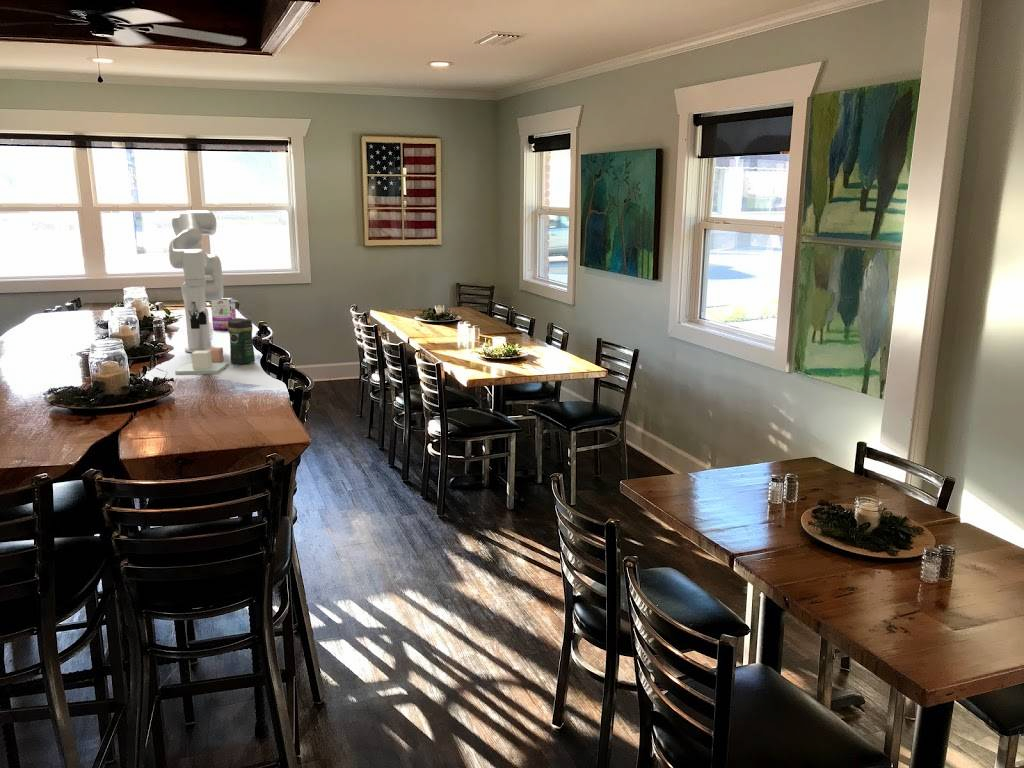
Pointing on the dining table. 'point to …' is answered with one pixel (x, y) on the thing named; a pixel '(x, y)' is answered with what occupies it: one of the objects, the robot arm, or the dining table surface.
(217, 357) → the terracotta block
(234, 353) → the coffee jar
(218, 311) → the candy bar box
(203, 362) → the cream block
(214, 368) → the board
